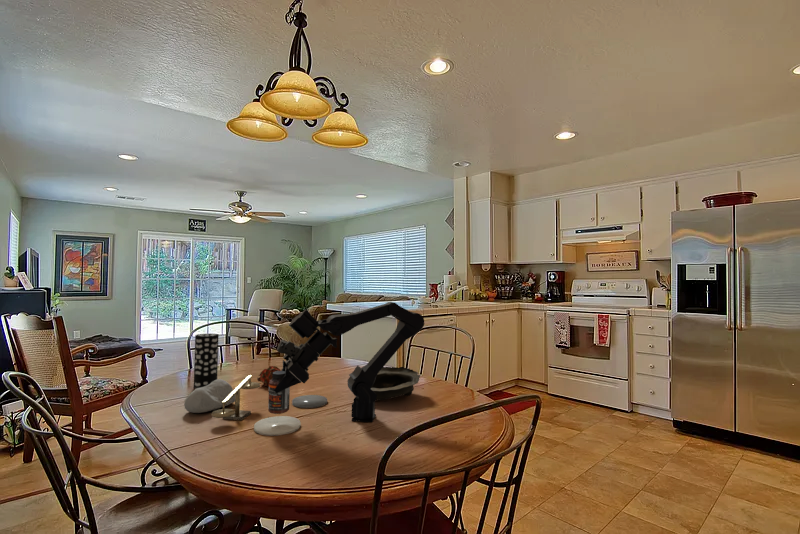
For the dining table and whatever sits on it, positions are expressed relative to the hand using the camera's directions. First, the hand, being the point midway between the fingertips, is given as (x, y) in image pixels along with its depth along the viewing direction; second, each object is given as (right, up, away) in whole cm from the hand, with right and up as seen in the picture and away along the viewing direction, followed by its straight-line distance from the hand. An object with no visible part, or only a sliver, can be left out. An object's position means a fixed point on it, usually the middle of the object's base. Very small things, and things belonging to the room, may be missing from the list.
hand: (274, 388), depth 121 cm
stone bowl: (+32, -13, +33) cm, 48 cm away
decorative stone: (-25, -11, +15) cm, 31 cm away
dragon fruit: (-15, -12, +45) cm, 49 cm away
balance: (-14, -11, +8) cm, 20 cm away
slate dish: (+5, -12, +24) cm, 27 cm away
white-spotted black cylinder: (-40, -12, +42) cm, 59 cm away
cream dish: (+1, -11, 0) cm, 11 cm away
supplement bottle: (+1, -7, 0) cm, 7 cm away
